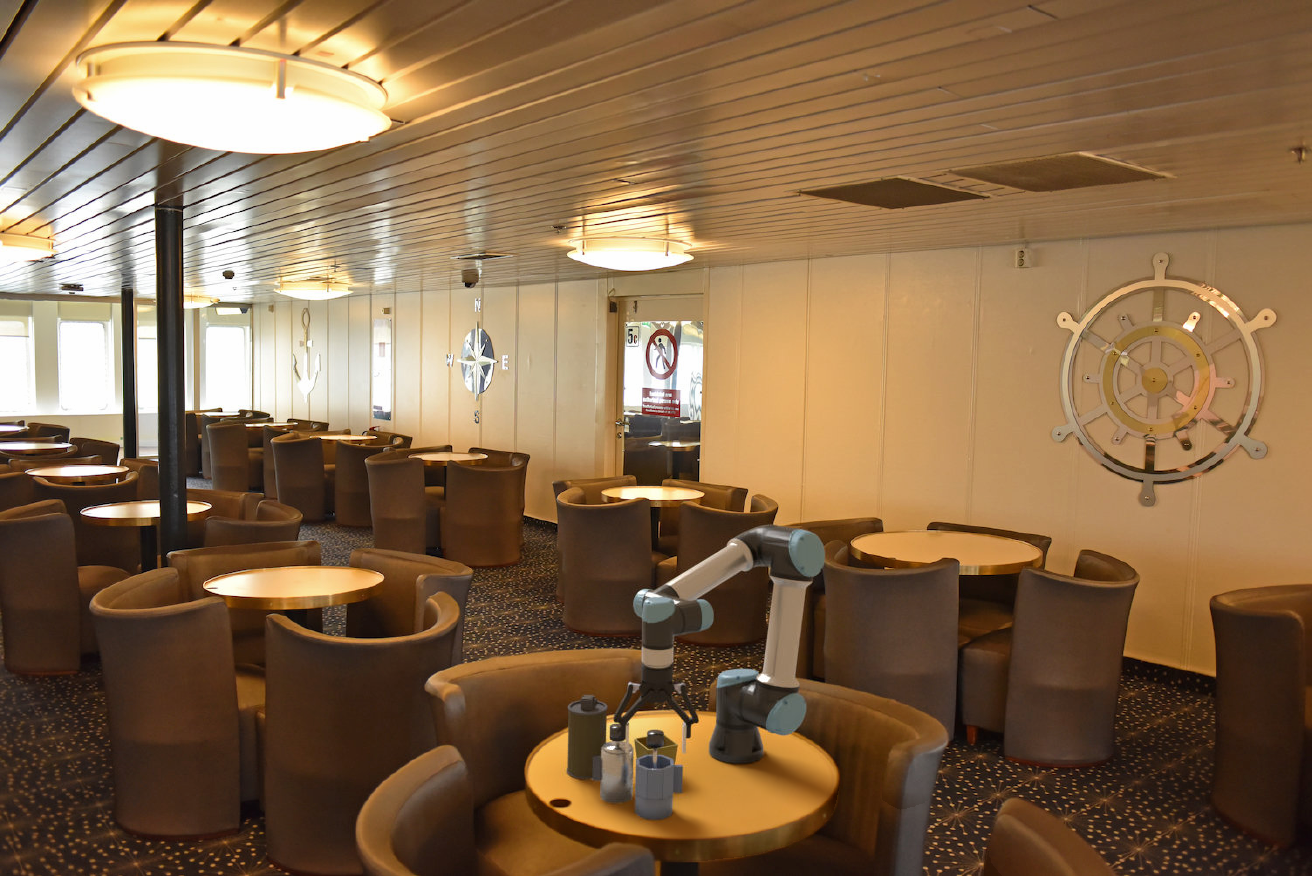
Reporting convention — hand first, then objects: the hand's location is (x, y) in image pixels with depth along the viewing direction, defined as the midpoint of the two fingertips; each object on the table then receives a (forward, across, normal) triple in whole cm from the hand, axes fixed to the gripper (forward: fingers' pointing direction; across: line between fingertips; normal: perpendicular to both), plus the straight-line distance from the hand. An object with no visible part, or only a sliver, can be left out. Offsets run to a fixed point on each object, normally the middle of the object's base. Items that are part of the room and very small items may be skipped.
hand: (655, 751), depth 225 cm
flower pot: (+15, -1, -21) cm, 26 cm away
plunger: (+9, 0, 0) cm, 9 cm away
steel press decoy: (+15, +9, -8) cm, 19 cm away
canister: (+15, +17, -23) cm, 32 cm away
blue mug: (+15, -1, 0) cm, 15 cm away
